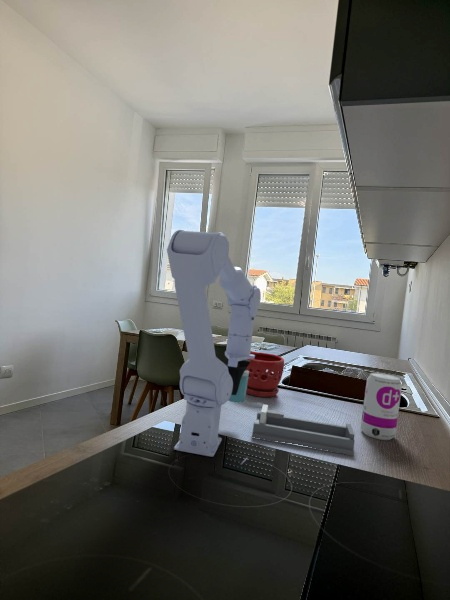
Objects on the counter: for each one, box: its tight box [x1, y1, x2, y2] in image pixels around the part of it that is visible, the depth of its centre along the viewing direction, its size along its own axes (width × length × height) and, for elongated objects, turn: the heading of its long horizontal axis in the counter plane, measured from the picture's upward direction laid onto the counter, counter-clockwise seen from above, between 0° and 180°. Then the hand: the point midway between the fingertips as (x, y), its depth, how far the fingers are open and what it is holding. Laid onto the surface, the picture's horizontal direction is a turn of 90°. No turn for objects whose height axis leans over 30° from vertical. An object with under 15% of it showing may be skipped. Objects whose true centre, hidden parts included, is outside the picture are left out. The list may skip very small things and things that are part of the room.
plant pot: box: [246, 351, 285, 398], centre depth 133 cm, size 13×13×12 cm
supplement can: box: [360, 372, 403, 441], centre depth 106 cm, size 8×8×15 cm
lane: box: [251, 411, 355, 457], centre depth 97 cm, size 11×22×4 cm, turn 80°
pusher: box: [260, 404, 285, 424], centre depth 98 cm, size 6×5×4 cm
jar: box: [227, 370, 249, 404], centre depth 100 cm, size 5×5×7 cm
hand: (233, 391), depth 100 cm, fingers closed on jar, 5 cm apart
